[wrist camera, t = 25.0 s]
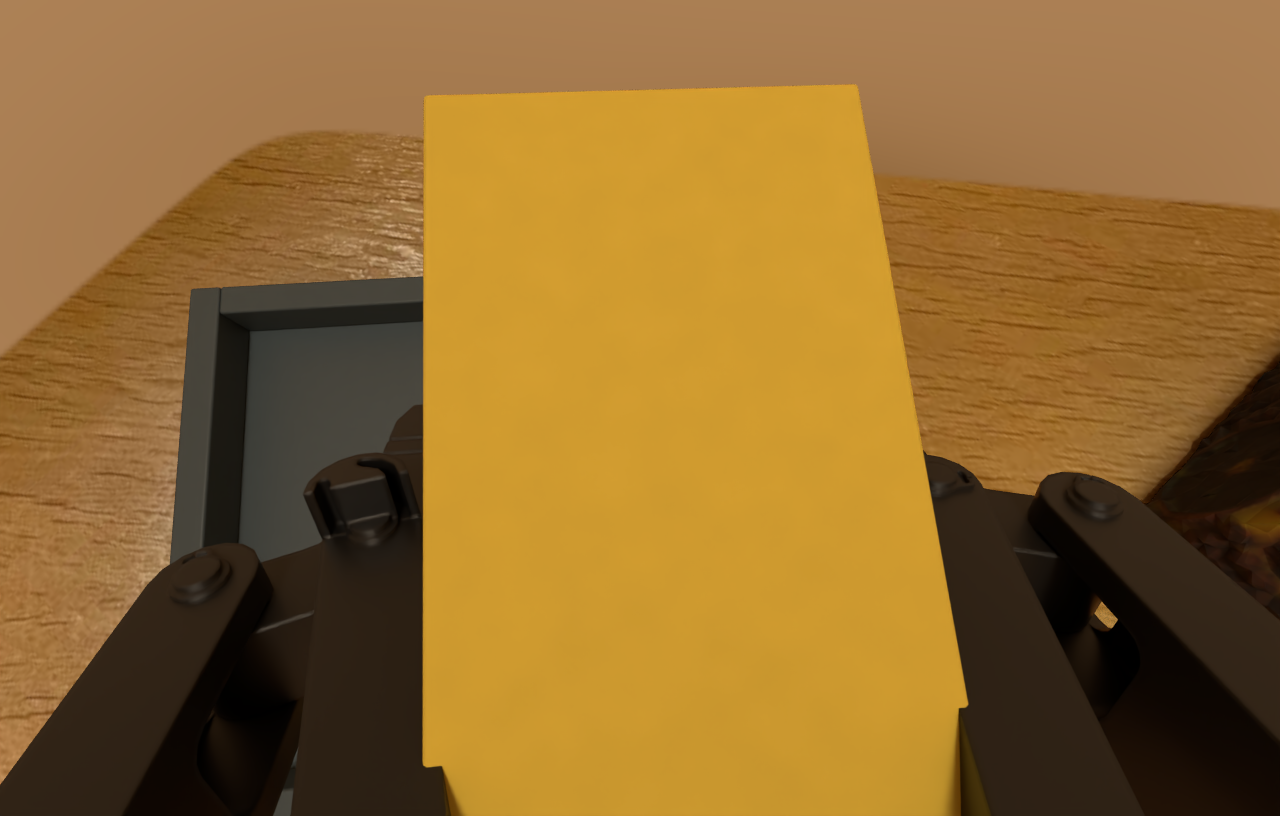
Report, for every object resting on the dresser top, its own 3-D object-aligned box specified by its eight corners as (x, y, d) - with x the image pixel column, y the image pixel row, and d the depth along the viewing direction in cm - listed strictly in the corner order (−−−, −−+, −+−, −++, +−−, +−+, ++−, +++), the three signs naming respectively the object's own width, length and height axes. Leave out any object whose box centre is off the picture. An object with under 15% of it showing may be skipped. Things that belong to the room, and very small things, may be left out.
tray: (211, 799, 16) (146, 843, 14) (240, 317, 19) (190, 288, 16) (853, 729, 17) (890, 757, 15) (789, 286, 20) (812, 254, 18)
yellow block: (548, 664, 16) (420, 928, 5) (536, 370, 17) (422, 94, 7) (736, 646, 16) (997, 860, 5) (706, 360, 18) (859, 81, 7)
